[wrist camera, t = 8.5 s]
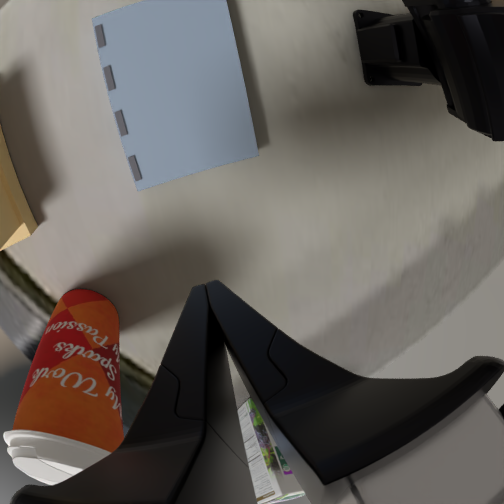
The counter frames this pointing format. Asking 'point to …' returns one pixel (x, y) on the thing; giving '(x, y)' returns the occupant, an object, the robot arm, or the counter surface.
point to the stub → (12, 203)
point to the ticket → (175, 87)
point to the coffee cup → (70, 392)
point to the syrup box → (266, 459)
